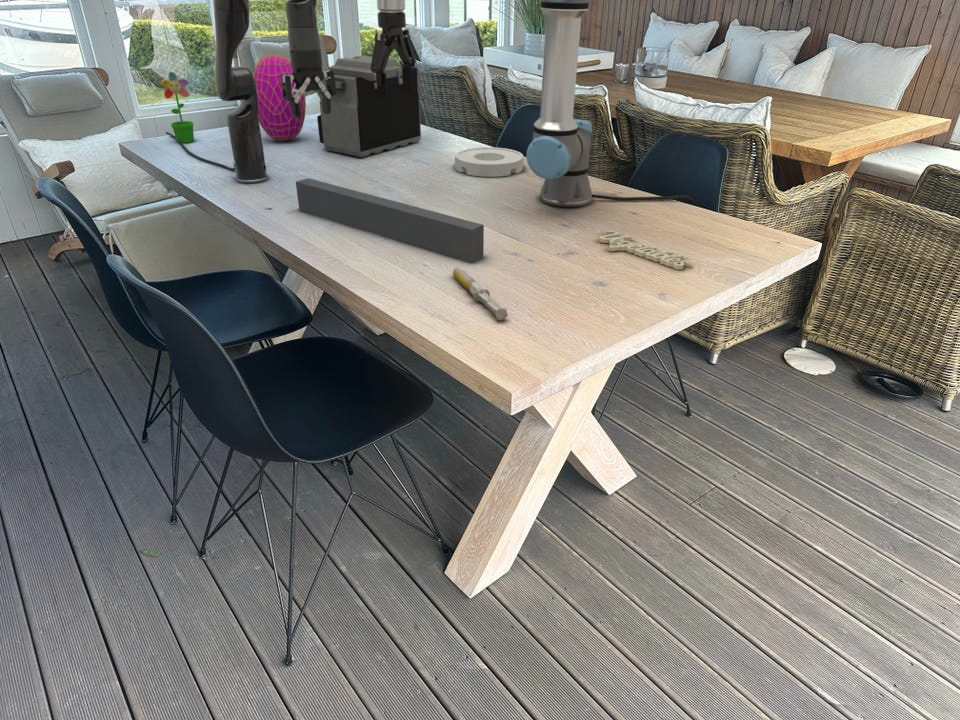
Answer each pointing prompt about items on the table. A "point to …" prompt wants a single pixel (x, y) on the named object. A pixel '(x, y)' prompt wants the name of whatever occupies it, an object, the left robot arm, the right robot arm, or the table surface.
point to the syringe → (479, 293)
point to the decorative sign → (643, 250)
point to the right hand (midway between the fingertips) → (395, 94)
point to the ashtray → (489, 161)
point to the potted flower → (181, 128)
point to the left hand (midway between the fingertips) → (312, 115)
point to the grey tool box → (369, 109)
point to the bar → (393, 219)
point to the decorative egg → (276, 99)
